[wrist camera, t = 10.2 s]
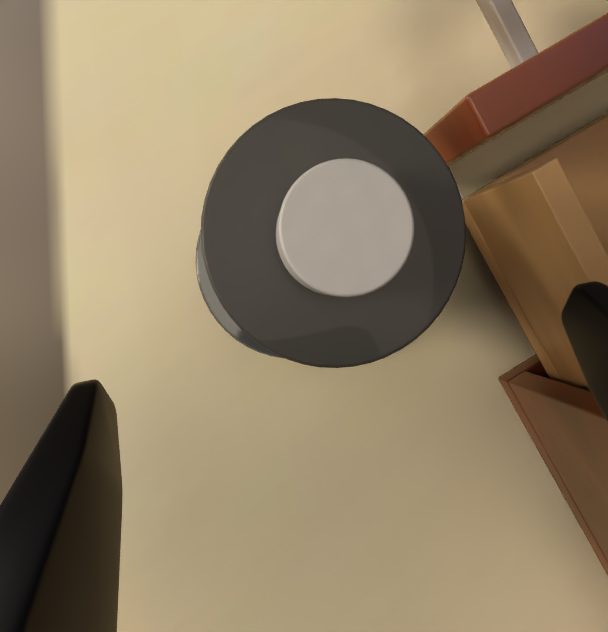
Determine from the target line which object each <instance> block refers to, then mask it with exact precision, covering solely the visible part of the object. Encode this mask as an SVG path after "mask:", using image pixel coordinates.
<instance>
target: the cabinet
mask: <svg viewBox="0 0 608 632" xmlns="http://www.w3.org/2000/svg"><path fill="white" fill-rule="evenodd" d="M499 381H500V382H501V384H502V386H503V388H504V390H505V391H506V393H507V395H508V397H509V399H510V400H511V402H512V404H513V406H514V408H515V409H516V411H517V413H518V415H519V417H520V418H521V420H522V422H523V424H524V425H525V427H526V429H527V431H528V433H529V434H530V436H531V438H532V440H533V442H534V443H535V445H536V447H537V449H538V451H539V452H540V454H541V456H542V458H543V460H544V461H545V463H546V465H547V467H548V469H549V470H550V472H551V474H552V476H553V478H554V479H555V481H556V483H557V485H558V486H559V488H560V490H561V492H562V494H563V495H564V497H565V499H566V501H567V503H568V504H569V506H570V508H571V510H572V512H573V513H574V515H575V517H576V519H577V521H578V522H579V524H580V526H581V528H582V530H583V531H584V533H585V535H586V537H587V539H588V540H589V542H590V544H591V546H592V547H593V549H594V551H595V553H596V555H597V556H598V558H599V560H600V562H601V564H602V565H603V567H604V569H605V571H606V573H607V574H608V423H607V421H606V419H605V417H604V415H603V414H602V412H601V410H600V408H599V406H598V405H597V403H596V401H595V399H594V397H593V395H592V393H591V392H589V391H586V390H583V389H580V388H577V387H573V386H570V385H567V384H564V383H561V382H558V381H554V380H551V379H550V378H549V376H548V374H547V372H546V370H545V368H544V367H543V365H542V363H541V361H540V359H539V357H538V356H537V354H536V355H534V356H533V357H531V358H529V359H528V360H526V361H524V362H523V363H521V364H520V365H518V366H516V367H515V368H513V369H512V370H510V371H508V372H507V373H505V374H503V375H502V376H500V377H499Z"/></svg>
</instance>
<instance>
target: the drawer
mask: <svg viewBox="0 0 608 632" xmlns="http://www.w3.org/2000/svg"><path fill="white" fill-rule="evenodd" d="M476 1H477V3H478V5H479V7H480V9H481V11H482V13H483V15H484V16H485V18H486V20H487V22H488V24H489V26H490V28H491V30H492V32H493V34H494V36H495V38H496V40H497V41H498V43H499V45H500V47H501V49H502V51H503V53H504V55H505V57H506V59H507V61H508V63H509V65H510V66H511V68H512V69H511V70H509V71H507V72H506V73H504V74H502V75H501V76H499V77H497V78H495V79H494V80H492V81H490V82H489V83H487V84H485V85H483V86H482V87H480V88H478V89H477V90H475V91H473V92H471V93H470V94H468V95H467V96H465V97H464V98H463V99H462V100H461V101H460V102H459V103H458V104H457V105H456V106H454V107H453V108H452V109H451V110H450V111H449V112H448V113H447V114H446V115H444V116H443V117H442V118H441V119H440V120H439V121H438V122H437V123H436V124H435V125H433V126H432V127H431V128H430V129H429V130H428V131H427V132H426V133H425V134H424V136H425V137H426V138H427V139H428V140H429V141H430V142H431V143H432V145H433V146H434V147H435V148H436V149H437V151H438V152H439V153H440V154H441V156H442V158H443V159H444V161H445V162H446V164H447V165H450V164H452V163H453V162H455V161H457V160H458V159H460V158H462V157H463V156H465V155H467V154H468V153H470V152H472V151H474V150H475V149H477V148H479V147H480V146H482V145H484V144H485V143H487V142H489V141H490V140H492V139H494V138H496V137H497V136H499V135H501V134H502V133H504V132H506V131H507V130H509V129H511V128H512V127H514V126H516V125H518V124H519V123H521V122H523V121H524V120H526V119H528V118H529V117H531V116H533V115H534V114H536V113H538V112H540V111H541V110H543V109H545V108H546V107H548V106H550V105H551V104H553V103H555V102H556V101H558V100H560V99H562V98H563V97H565V96H567V95H568V94H570V93H572V92H573V91H575V90H577V89H579V88H580V87H582V86H584V85H585V84H587V83H589V82H590V81H592V80H594V79H595V78H597V77H599V76H601V75H602V74H604V73H606V72H607V71H608V13H607V14H605V15H603V16H602V17H600V18H598V19H596V20H595V21H593V22H591V23H590V24H588V25H586V26H584V27H583V28H581V29H579V30H578V31H576V32H574V33H572V34H571V35H569V36H567V37H566V38H564V39H562V40H560V41H559V42H557V43H555V44H554V45H552V46H550V47H548V48H547V49H545V50H543V51H542V52H540V53H538V51H537V49H536V47H535V45H534V44H533V42H532V40H531V38H530V36H529V34H528V32H527V30H526V28H525V26H524V24H523V22H522V20H521V18H520V16H519V14H518V12H517V10H516V8H515V6H514V4H513V3H512V1H511V0H476ZM462 204H463V210H464V215H465V224H466V226H467V228H468V229H469V231H470V233H471V235H472V237H473V239H474V240H475V242H476V244H477V246H478V248H479V249H480V251H481V253H482V255H483V257H484V259H485V260H486V262H487V264H488V266H489V268H490V270H491V271H492V273H493V275H494V277H495V279H496V281H497V282H498V284H499V286H500V288H501V290H502V292H503V293H504V295H505V297H506V299H507V301H508V303H509V304H510V306H511V308H512V310H513V312H514V314H515V315H516V317H517V319H518V321H519V323H520V325H521V326H522V328H523V330H524V332H525V334H526V336H527V337H528V339H529V341H530V343H531V345H532V347H533V348H534V350H535V352H536V354H537V356H538V357H539V359H540V361H541V363H542V365H543V367H544V368H545V370H546V372H547V374H548V376H549V378H550V379H551V380H554V381H558V382H561V383H564V384H567V385H570V386H573V387H577V388H580V389H583V390H586V391H589V392H591V391H590V389H589V387H588V385H587V382H586V380H585V378H584V375H583V373H582V371H581V368H580V366H579V363H578V361H577V358H576V356H575V354H574V351H573V349H572V346H571V344H570V341H569V339H568V337H567V334H566V332H565V329H564V327H563V324H562V320H561V314H562V310H563V308H564V306H565V304H566V302H567V300H568V297H569V295H570V293H571V291H572V289H573V288H574V287H575V286H576V285H578V284H582V283H587V282H592V281H598V282H601V283H603V284H605V285H607V286H608V113H607V114H605V115H604V116H602V117H600V118H599V119H597V120H595V121H594V122H592V123H590V124H588V125H587V126H585V127H583V128H582V129H580V130H578V131H577V132H575V133H573V134H572V135H570V136H568V137H567V138H565V139H563V140H562V141H560V142H558V143H557V144H555V145H553V146H552V147H550V148H548V149H547V150H545V151H543V152H541V153H540V154H538V155H536V156H535V157H533V158H531V159H530V160H528V161H526V162H525V163H523V164H521V165H520V166H518V167H516V168H515V169H513V170H511V171H510V172H508V173H506V174H505V175H503V176H501V177H499V178H498V179H496V180H494V181H493V182H491V183H489V184H488V185H486V186H484V187H483V188H481V189H479V190H478V191H476V192H474V193H473V194H471V195H469V196H468V197H466V198H464V199H463V200H462Z"/></svg>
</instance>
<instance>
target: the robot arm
mask: <svg viewBox="0 0 608 632" xmlns="http://www.w3.org/2000/svg"><path fill="white" fill-rule="evenodd" d="M561 320H562V324H563V327H564V329H565V332H566V334H567V337H568V339H569V341H570V344H571V346H572V349H573V351H574V354H575V356H576V358H577V361H578V363H579V366H580V368H581V371H582V373H583V375H584V378H585V380H586V382H587V385H588V387H589V389H590V391H591V393H592V395H593V397H594V399H595V401H596V403H597V405H598V406H599V408H600V410H601V412H602V414H603V415H604V417H605V419H606V421H607V423H608V286H607V285H605V284H603V283H601V282H598V281H592V282H587V283H582V284H578V285H576V286H575V287H574V288H573V289H572V291H571V293H570V295H569V297H568V300H567V302H566V304H565V306H564V308H563V310H562V314H561ZM121 521H122V477H121V464H120V451H119V439H118V426H117V414H116V409H115V406H114V403H113V401H112V400H111V398H110V397H109V395H108V394H107V392H106V391H105V389H104V387H103V386H102V384H101V383H100V382H99V381H98V380H89V381H84V382H79V383H76V384H74V385H73V386H72V387H71V388H70V390H69V391H68V393H67V395H66V396H65V398H64V400H63V401H62V403H61V405H60V406H59V408H58V410H57V411H56V413H55V415H54V416H53V418H52V420H51V421H50V423H49V425H48V426H47V428H46V430H45V432H44V433H43V435H42V436H41V438H40V440H39V442H38V443H37V445H36V446H35V448H34V450H33V452H32V453H31V455H30V456H29V458H28V460H27V461H26V463H25V465H24V466H23V468H22V470H21V471H20V473H19V475H18V476H17V478H16V480H15V482H14V483H13V485H12V486H11V488H10V490H9V492H8V493H7V495H6V497H5V498H4V500H3V501H2V503H1V505H0V632H117V613H118V590H119V567H120V544H121Z"/></svg>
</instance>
